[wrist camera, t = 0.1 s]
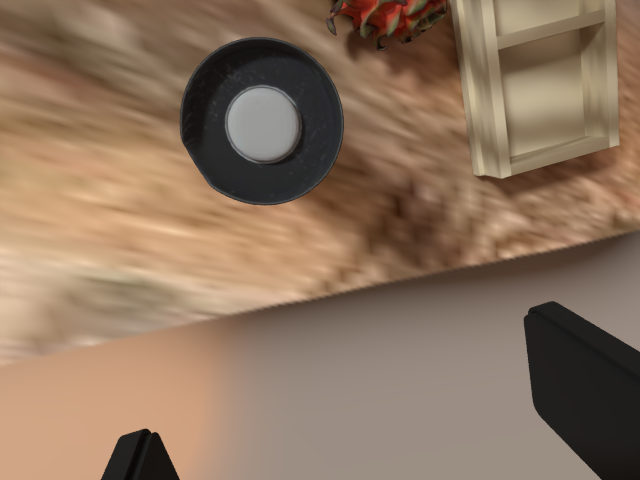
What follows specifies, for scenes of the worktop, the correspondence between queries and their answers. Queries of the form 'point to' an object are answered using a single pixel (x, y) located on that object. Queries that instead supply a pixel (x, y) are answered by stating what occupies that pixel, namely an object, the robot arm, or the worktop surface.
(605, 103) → the rack
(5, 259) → the worktop surface
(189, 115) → the travel mug
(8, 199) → the worktop surface
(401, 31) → the dragon fruit
